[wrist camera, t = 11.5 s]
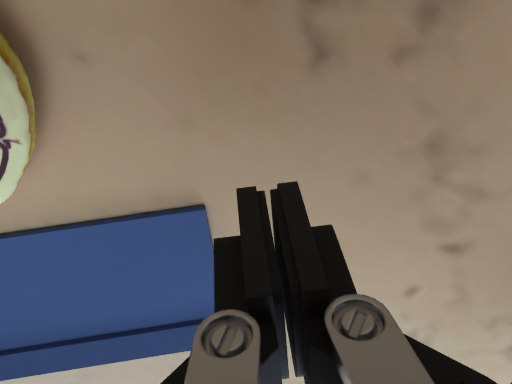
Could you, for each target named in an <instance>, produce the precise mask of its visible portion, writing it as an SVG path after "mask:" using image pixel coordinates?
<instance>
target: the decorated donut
mask: <svg viewBox="0 0 512 384" xmlns="http://www.w3.org/2000/svg"><path fill="white" fill-rule="evenodd" d="M31 90H32V89H31V87H30V82H29V81H28V77H27V75H26V73H25V71H24V68H23V66H22V64H21V62H20V59H19V57H18V55H17V54H16V52H15V51H14V49H13V48H12V47H11V46H10V44H9V43H8V41H7V40H6V38H5V37H4V36H3V34H2V33H1V32H0V204H1V203H3V202H4V201H6V200H7V199H8V198H9V197H10V196H11V195H12V193H13V192H14V190H15V188H16V186H17V184H18V181H19V180H20V178H21V176H22V175H23V173H24V171H25V169H26V168H27V165H28V163H29V161H30V158H31V154H32V152H33V149H34V143H35V136H36V132H35V107H34V99H33V96H32V93H31Z"/></svg>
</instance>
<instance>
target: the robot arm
mask: <svg viewBox="0 0 512 384" xmlns="http://www.w3.org/2000/svg"><path fill="white" fill-rule="evenodd" d="M236 190H237V202H238V213H239V225H240V236H232V237H224V238H216V239H214V313H213V314H211V315H210V316H208V317H207V318H206V319H204V320H203V321H202V322H201V324H200V325H199V326H198V328H197V330H196V332H195V335H194V339H193V344H192V349H191V353H190V356H189V357H188V358H187V359H186V360H185V361H184V362H183V363H182V364H181V365H180V366H179V367H178V368H177V369H176V370H175V371H173V372H172V373H171V374H170V375H169V376H168V377H167V378H166V379H165V380H164V381H163V382H162V383H161V384H282V379H287V378H289V371H288V358H287V345H286V332H285V319H286V325H287V331H288V336H289V342H290V348H291V353H292V359H293V365H294V371H295V376H296V377H302V376H304V380H305V384H497V383H496V382H494V381H493V380H491V379H490V378H488V377H486V376H484V375H482V374H481V373H479V372H477V371H475V370H473V369H471V368H469V367H467V366H465V365H463V364H461V363H459V362H457V361H455V360H453V359H451V358H449V357H447V356H446V355H444V354H442V353H440V352H438V351H436V350H434V349H432V348H430V347H428V346H426V345H424V344H422V343H420V342H418V341H416V340H414V339H412V338H411V337H409V336H407V335H405V334H403V333H402V331H401V330H400V328H399V326H398V325H397V323H396V322H395V320H394V318H393V317H392V315H391V314H390V312H389V311H388V309H387V308H386V307H385V306H384V305H383V304H382V303H381V302H379V301H377V300H376V299H374V298H372V297H369V296H366V295H360V294H357V292H356V289H355V286H354V284H353V281H352V278H351V275H350V273H349V270H348V267H347V264H346V262H345V259H344V256H343V253H342V251H341V248H340V245H339V242H338V239H337V237H336V234H335V231H334V229H333V226H332V225H323V226H315V227H311V226H310V223H309V219H308V216H307V212H306V209H305V206H304V202H303V199H302V196H301V192H300V189H299V186H298V183H297V181H296V182H287V183H279V184H277V189H273V190H270V195H271V207H272V219H273V231H274V242H273V237H272V231H271V226H270V220H269V214H268V209H267V203H266V198H265V192H264V191H257V190H256V186H254V187H245V188H237V189H236ZM274 243H275V248H274ZM284 313H285V319H284ZM511 384H512V382H511Z"/></svg>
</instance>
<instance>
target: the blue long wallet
mask: <svg viewBox="0 0 512 384" xmlns="http://www.w3.org/2000/svg"><path fill="white" fill-rule="evenodd" d="M213 313H214V250H213V245H212V240H211V235H210V229H209V224H208V219H207V214H206V208H205V205H202V206H195V207H188V208H181V209H174V210H167V211H160V212H153V213H146V214H140V215H133V216H126V217H119V218H112V219H105V220H98V221H91V222H84V223H77V224H70V225H63V226H56V227H49V228H42V229H35V230H29V231H22V232H15V233H8V234H1V235H0V381H3V380H9V379H16V378H22V377H28V376H34V375H41V374H47V373H53V372H59V371H66V370H72V369H78V368H84V367H90V366H97V365H103V364H109V363H115V362H122V361H128V360H134V359H140V358H146V357H153V356H159V355H165V354H171V353H178V352H184V351H190V350H191V349H192V344H193V339H194V335H195V332H196V330H197V328H198V326H199V325H200V324H201V322H202V321H203V320H204V319H206V318H207V317H208V316H210V315H211V314H213Z"/></svg>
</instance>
